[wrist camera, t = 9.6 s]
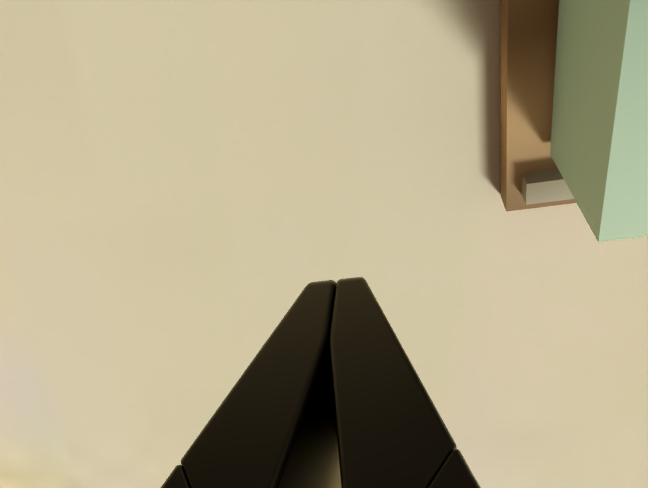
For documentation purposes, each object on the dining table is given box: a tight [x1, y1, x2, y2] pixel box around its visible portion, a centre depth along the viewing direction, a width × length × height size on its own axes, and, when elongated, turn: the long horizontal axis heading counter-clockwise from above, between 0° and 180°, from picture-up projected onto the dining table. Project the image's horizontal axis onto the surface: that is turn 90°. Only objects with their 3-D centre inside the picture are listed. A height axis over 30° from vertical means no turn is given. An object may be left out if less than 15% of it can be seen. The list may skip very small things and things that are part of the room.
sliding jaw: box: [550, 0, 648, 242], centre depth 13 cm, size 8×2×4 cm, turn 11°
